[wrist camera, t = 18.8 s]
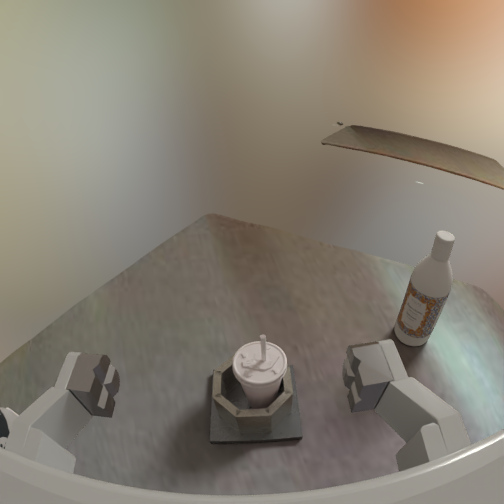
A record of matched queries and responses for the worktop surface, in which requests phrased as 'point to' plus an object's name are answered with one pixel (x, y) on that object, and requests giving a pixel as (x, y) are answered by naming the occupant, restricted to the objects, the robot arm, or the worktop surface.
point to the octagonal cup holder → (252, 411)
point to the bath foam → (426, 293)
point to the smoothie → (260, 371)
